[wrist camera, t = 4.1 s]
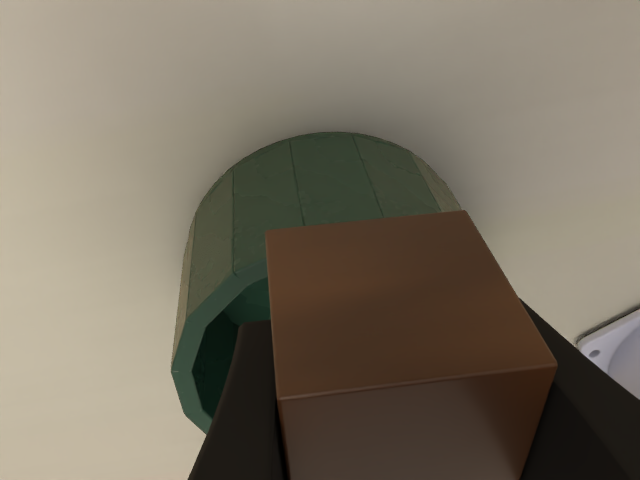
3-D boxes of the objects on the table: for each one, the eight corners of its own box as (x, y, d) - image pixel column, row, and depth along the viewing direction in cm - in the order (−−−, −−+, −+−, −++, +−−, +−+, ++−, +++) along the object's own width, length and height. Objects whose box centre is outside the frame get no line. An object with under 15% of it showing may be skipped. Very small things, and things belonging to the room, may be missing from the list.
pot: (443, 332, 25) (491, 446, 20) (211, 360, 24) (206, 486, 20) (472, 117, 19) (550, 212, 14) (159, 147, 18) (134, 258, 13)
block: (466, 208, 11) (560, 364, 8) (445, 346, 13) (512, 508, 10) (264, 229, 11) (276, 399, 7) (281, 366, 13) (295, 539, 10)
